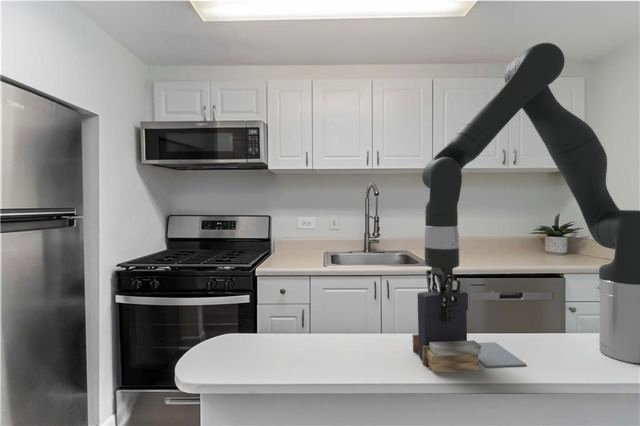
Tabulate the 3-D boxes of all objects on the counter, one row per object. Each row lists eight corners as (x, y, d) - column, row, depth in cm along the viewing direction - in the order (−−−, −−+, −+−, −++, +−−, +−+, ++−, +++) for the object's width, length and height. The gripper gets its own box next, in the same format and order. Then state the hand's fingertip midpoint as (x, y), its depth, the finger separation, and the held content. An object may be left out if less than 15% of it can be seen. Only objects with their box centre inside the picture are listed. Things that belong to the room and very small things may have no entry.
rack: (460, 348, 83) (460, 332, 83) (476, 363, 75) (476, 345, 75) (412, 350, 82) (412, 334, 82) (423, 365, 75) (423, 347, 75)
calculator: (457, 350, 82) (456, 288, 82) (469, 357, 78) (468, 292, 78) (416, 356, 79) (415, 291, 79) (427, 363, 75) (425, 296, 75)
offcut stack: (474, 364, 75) (474, 340, 75) (480, 370, 72) (480, 345, 72) (427, 366, 74) (426, 342, 74) (431, 373, 72) (431, 347, 71)
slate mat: (495, 343, 86) (495, 342, 86) (526, 365, 74) (526, 364, 74) (460, 345, 85) (460, 343, 85) (486, 367, 73) (486, 365, 73)
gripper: (473, 249, 71) (473, 329, 72) (444, 242, 86) (445, 309, 86) (438, 249, 71) (438, 330, 71) (415, 242, 85) (416, 310, 86)
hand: (442, 318), depth 79 cm, fingers closed on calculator, 4 cm apart
